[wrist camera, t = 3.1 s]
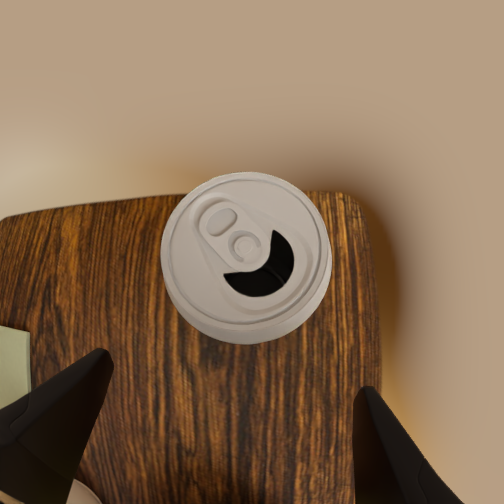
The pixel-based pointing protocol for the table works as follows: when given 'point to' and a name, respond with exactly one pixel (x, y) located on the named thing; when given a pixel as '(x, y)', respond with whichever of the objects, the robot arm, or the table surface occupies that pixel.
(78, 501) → the trinket box
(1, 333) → the mat
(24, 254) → the table surface
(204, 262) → the beverage can
